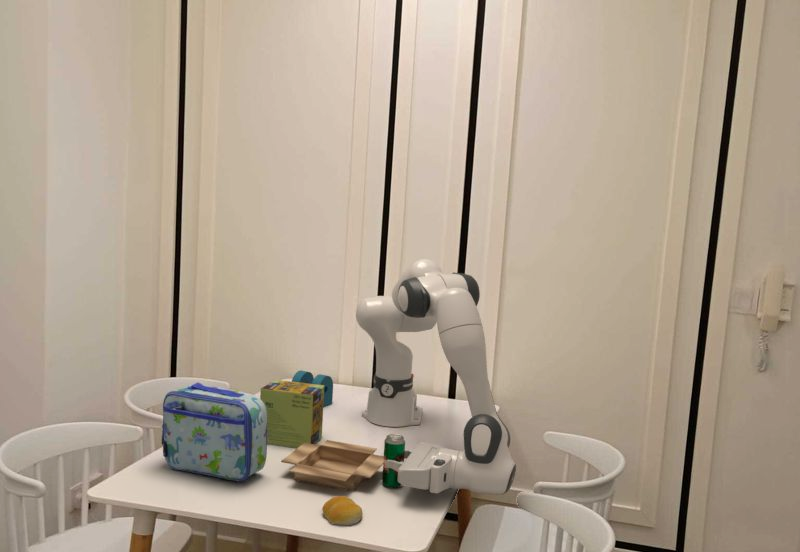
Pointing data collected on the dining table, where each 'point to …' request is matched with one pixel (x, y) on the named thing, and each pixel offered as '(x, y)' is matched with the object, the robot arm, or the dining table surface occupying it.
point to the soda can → (392, 450)
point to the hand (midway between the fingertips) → (390, 458)
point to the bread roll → (342, 511)
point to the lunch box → (214, 432)
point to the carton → (334, 464)
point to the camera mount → (318, 380)
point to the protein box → (293, 412)
